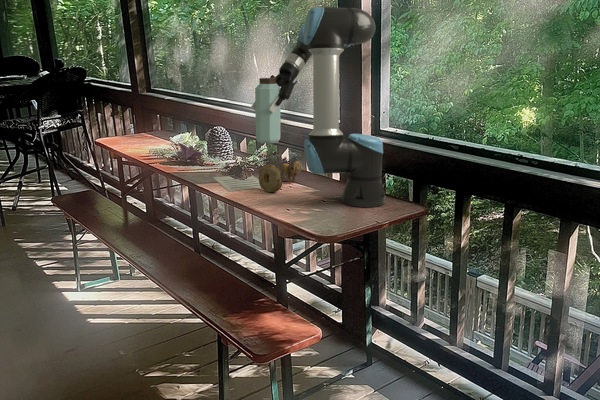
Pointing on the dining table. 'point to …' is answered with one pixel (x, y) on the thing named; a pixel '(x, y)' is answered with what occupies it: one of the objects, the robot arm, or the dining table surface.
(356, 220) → the dining table surface
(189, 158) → the lily
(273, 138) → the water bottle
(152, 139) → the dining table surface
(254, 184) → the letter
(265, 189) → the stone disc
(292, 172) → the lion figurine
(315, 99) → the robot arm
